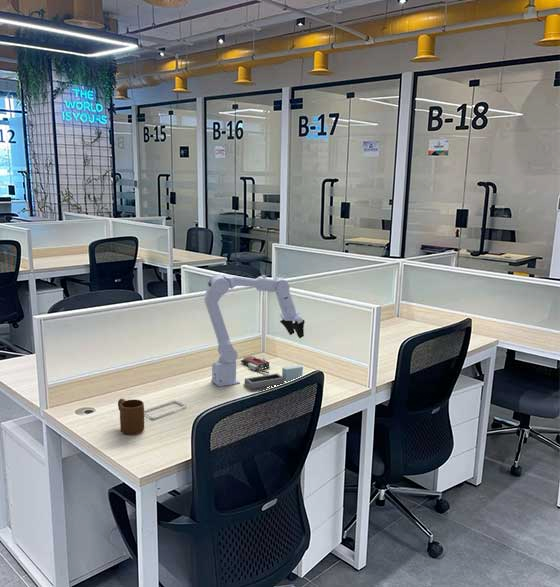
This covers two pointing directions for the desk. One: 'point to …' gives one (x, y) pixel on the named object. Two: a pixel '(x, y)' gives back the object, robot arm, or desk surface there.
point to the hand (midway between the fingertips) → (296, 335)
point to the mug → (131, 416)
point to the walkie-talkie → (256, 363)
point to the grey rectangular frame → (167, 412)
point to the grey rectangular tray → (263, 382)
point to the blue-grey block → (291, 372)
